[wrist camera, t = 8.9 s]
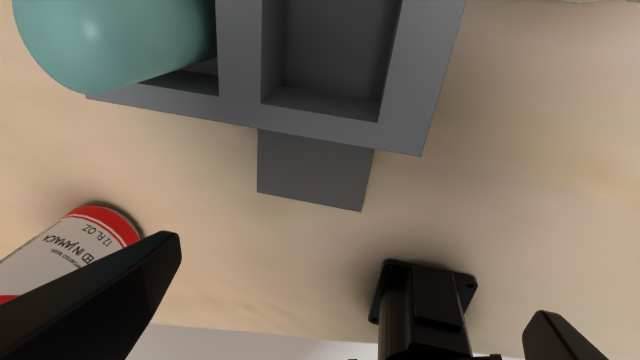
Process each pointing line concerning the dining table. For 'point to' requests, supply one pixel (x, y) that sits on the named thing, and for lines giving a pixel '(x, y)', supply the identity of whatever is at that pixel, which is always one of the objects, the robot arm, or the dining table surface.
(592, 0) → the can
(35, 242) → the beer can
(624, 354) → the dining table surface
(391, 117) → the dock
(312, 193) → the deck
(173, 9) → the plug
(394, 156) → the dining table surface
